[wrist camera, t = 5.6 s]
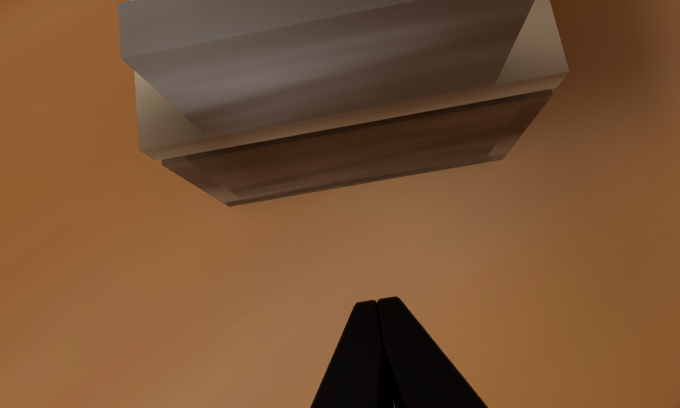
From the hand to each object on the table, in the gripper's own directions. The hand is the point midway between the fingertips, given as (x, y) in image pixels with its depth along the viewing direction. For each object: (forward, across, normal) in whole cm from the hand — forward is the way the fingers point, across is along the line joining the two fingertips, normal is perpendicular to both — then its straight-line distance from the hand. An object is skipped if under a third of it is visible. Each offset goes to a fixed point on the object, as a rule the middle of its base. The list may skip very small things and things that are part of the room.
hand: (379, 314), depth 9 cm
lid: (+11, 0, -6) cm, 12 cm away
